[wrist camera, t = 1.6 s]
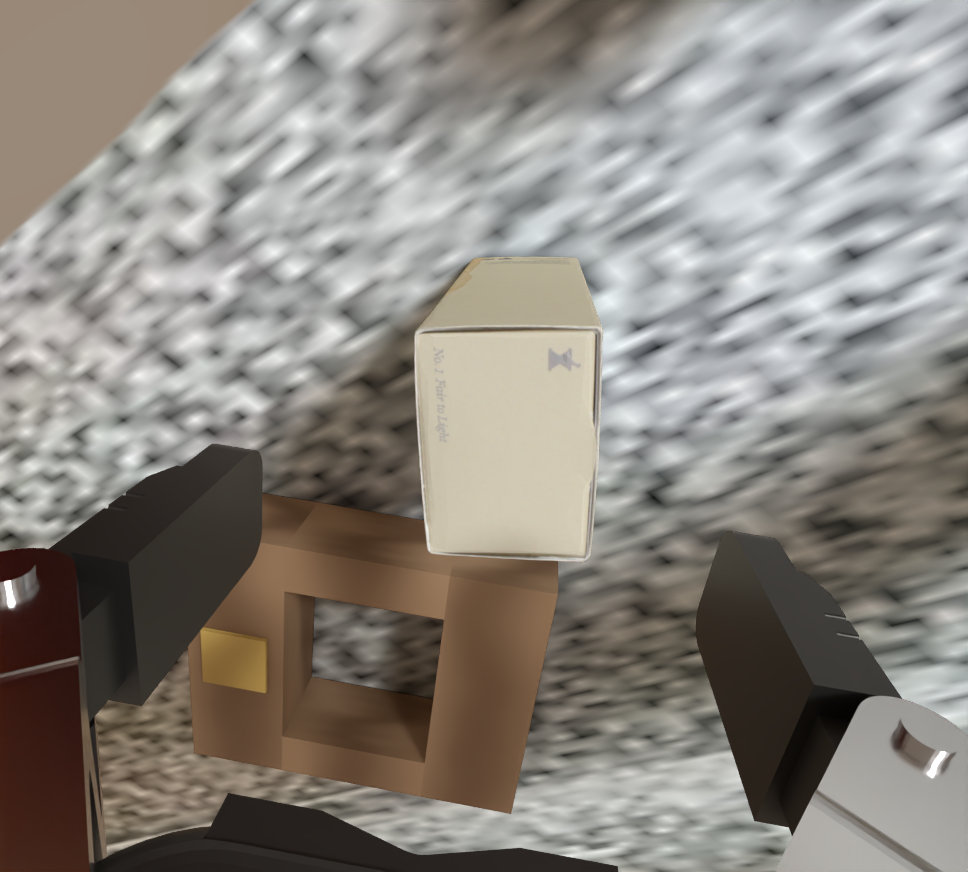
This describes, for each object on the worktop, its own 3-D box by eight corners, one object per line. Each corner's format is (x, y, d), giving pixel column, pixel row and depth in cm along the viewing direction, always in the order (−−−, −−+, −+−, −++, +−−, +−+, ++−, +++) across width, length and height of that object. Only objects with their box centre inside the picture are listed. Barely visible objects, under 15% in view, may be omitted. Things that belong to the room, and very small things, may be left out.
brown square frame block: (557, 543, 30) (558, 597, 26) (515, 746, 35) (510, 817, 31) (226, 486, 30) (178, 531, 26) (231, 693, 35) (192, 756, 31)
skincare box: (471, 256, 25) (404, 314, 14) (583, 256, 25) (607, 316, 14) (474, 405, 28) (418, 558, 16) (577, 408, 27) (592, 567, 16)
